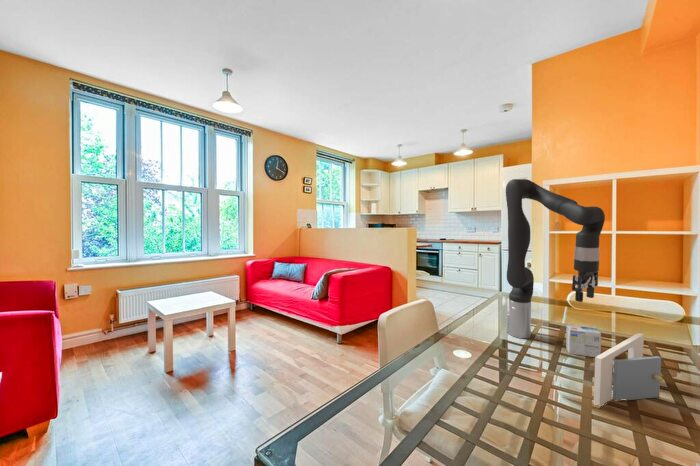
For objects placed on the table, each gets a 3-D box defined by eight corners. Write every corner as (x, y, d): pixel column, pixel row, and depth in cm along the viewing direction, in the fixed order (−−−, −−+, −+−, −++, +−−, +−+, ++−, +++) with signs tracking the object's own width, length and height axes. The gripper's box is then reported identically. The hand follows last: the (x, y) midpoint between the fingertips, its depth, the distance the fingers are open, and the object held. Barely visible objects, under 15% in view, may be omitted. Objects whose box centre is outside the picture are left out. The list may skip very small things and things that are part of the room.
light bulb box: (595, 351, 124) (596, 326, 123) (601, 358, 118) (602, 333, 117) (565, 346, 128) (565, 323, 127) (568, 354, 122) (569, 329, 121)
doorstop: (589, 376, 106) (589, 364, 106) (596, 372, 109) (596, 360, 108) (640, 397, 94) (641, 384, 94) (647, 392, 96) (647, 379, 96)
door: (612, 399, 93) (614, 360, 92) (655, 394, 94) (657, 356, 93) (620, 404, 90) (622, 364, 89) (665, 400, 92) (667, 360, 91)
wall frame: (593, 405, 91) (595, 357, 89) (636, 375, 106) (638, 332, 104) (599, 408, 89) (601, 359, 88) (641, 377, 104) (643, 334, 103)
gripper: (584, 255, 118) (582, 294, 120) (565, 259, 111) (563, 300, 113) (607, 257, 111) (605, 298, 113) (588, 262, 105) (586, 305, 106)
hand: (584, 299), depth 113 cm, fingers open, 8 cm apart
